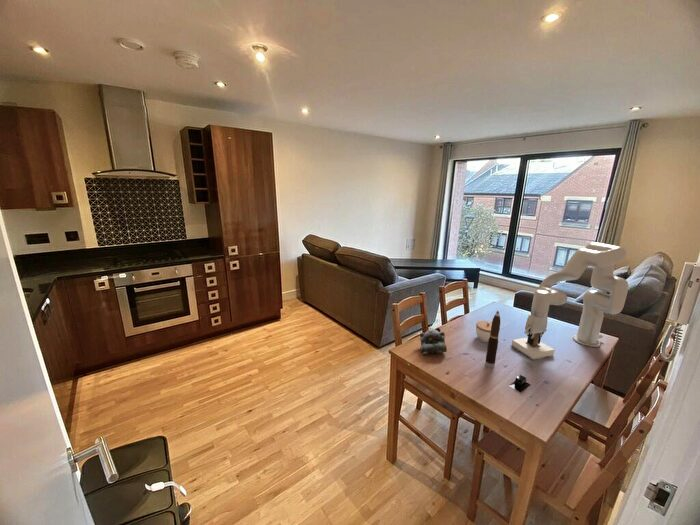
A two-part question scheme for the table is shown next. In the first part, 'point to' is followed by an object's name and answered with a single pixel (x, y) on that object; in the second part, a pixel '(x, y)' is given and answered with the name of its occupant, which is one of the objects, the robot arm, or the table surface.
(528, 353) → the bore block
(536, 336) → the pin
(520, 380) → the black blocky piece
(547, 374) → the table surface
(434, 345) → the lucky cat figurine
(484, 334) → the lidded bowl
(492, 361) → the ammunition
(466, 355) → the table surface
